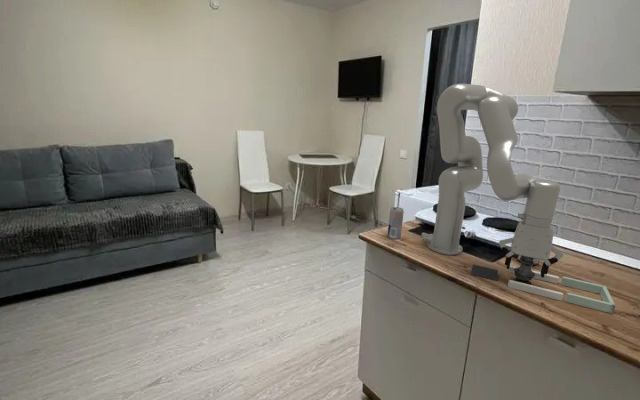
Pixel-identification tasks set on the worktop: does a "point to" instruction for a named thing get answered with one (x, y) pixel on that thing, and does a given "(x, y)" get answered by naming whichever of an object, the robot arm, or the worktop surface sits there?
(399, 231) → the energy drink
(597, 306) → the frame
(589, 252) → the worktop surface
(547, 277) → the channel
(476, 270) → the dark grey coaster
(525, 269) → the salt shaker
